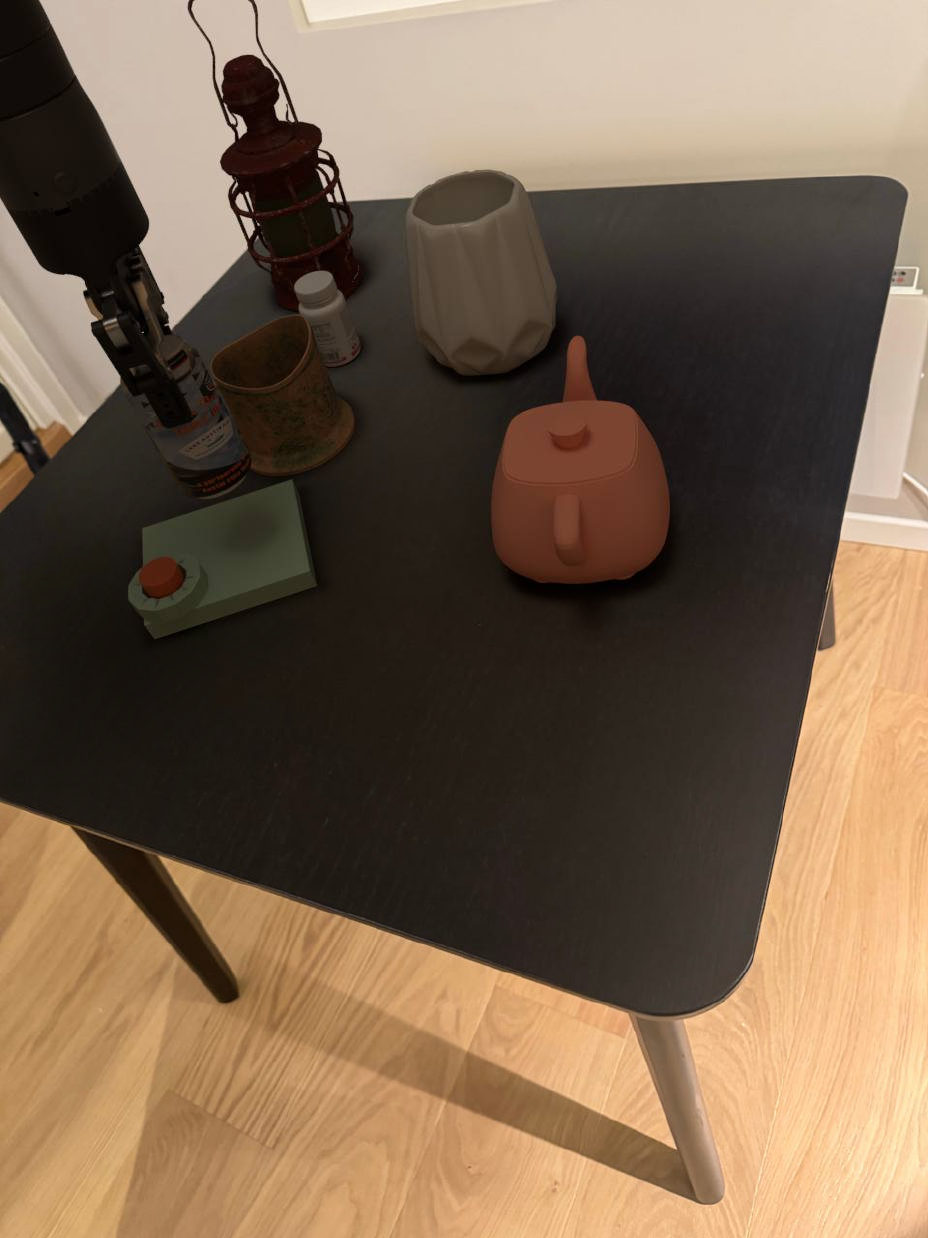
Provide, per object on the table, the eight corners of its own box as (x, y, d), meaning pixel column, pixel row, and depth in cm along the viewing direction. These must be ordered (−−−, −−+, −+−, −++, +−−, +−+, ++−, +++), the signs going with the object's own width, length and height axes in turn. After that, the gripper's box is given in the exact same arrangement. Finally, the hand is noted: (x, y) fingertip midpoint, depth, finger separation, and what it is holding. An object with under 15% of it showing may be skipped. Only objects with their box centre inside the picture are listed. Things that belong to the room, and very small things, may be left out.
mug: (170, 457, 92) (110, 355, 83) (330, 381, 94) (289, 274, 85) (201, 523, 84) (139, 418, 75) (373, 439, 87) (334, 328, 78)
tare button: (147, 604, 74) (138, 591, 73) (146, 576, 77) (138, 563, 75) (185, 591, 74) (177, 578, 73) (183, 564, 77) (175, 551, 75)
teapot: (669, 444, 78) (663, 319, 69) (673, 631, 66) (667, 508, 57) (513, 456, 82) (488, 337, 72) (489, 636, 69) (455, 520, 60)
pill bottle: (345, 335, 100) (320, 262, 93) (370, 350, 97) (346, 276, 90) (309, 357, 98) (281, 285, 92) (333, 373, 95) (306, 300, 89)
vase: (556, 383, 87) (533, 229, 75) (412, 393, 90) (369, 247, 79) (570, 297, 95) (551, 148, 84) (437, 309, 99) (402, 167, 88)
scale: (148, 646, 76) (128, 619, 73) (145, 544, 84) (127, 517, 81) (318, 590, 76) (304, 561, 73) (299, 494, 84) (286, 465, 82)
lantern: (249, 313, 106) (125, 21, 84) (300, 254, 113) (197, -31, 90) (340, 319, 102) (234, 11, 79) (388, 257, 108) (302, -44, 86)
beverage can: (206, 522, 72) (134, 395, 62) (165, 481, 76) (92, 356, 67) (273, 478, 73) (212, 348, 64) (229, 440, 78) (167, 314, 69)
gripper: (9, 148, 61) (129, 361, 74) (-12, 246, 52) (129, 471, 64) (118, 113, 61) (219, 332, 74) (117, 204, 52) (233, 438, 65)
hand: (177, 396), depth 69 cm, fingers closed on beverage can, 6 cm apart
